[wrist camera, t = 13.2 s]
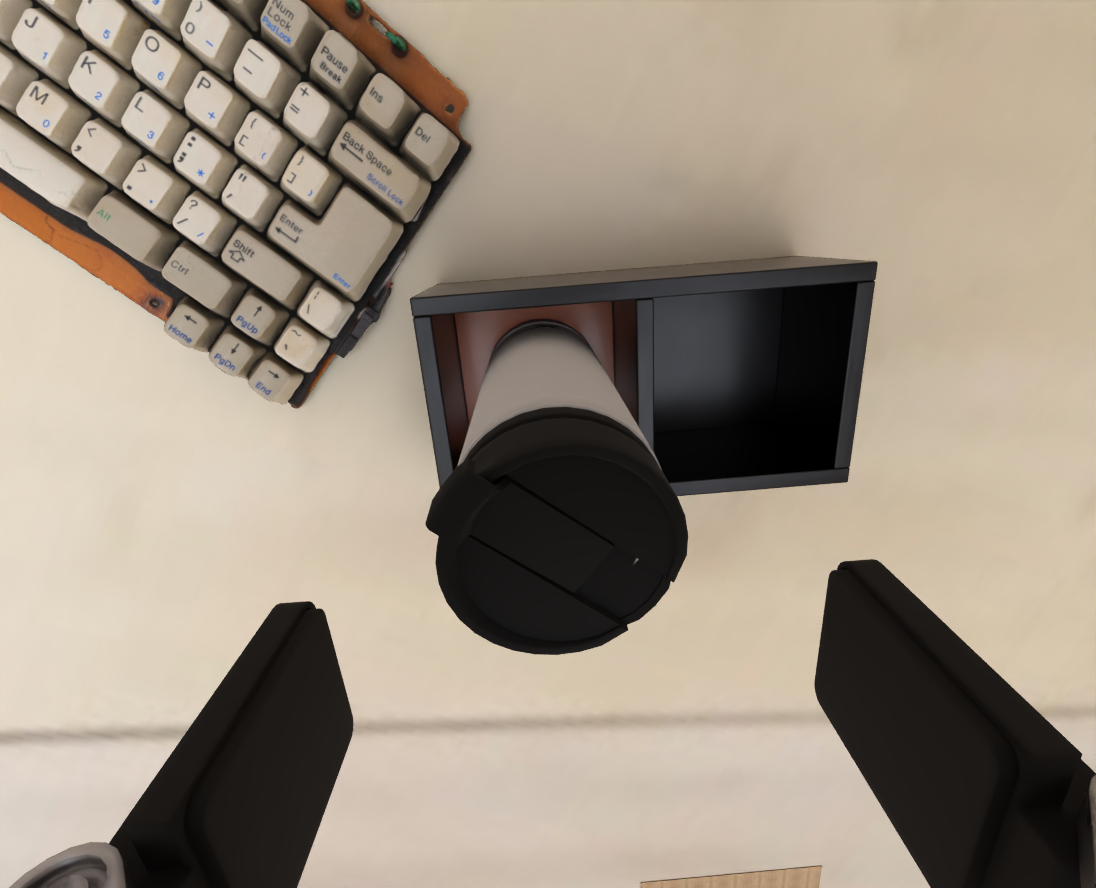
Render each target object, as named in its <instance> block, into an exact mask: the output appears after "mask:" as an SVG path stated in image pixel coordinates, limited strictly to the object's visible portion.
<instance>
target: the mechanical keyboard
mask: <svg viewBox="0 0 1096 888" xmlns="http://www.w3.org/2000/svg"><path fill="white" fill-rule="evenodd" d="M371 19H375V20H377V21H379V22H380V23H381V24H382V25H383V26H384V27H385V28H386V29H387V30H388V31H387V33H386V36H384V35H382V34H381V33H380V32H379V31H378V30H377V29H376V28H375V27H373V26H372V25H371V24H370V22H369V21H370V20H371ZM467 105H468V101H467V99H466V96H465V94H464V92H463V91H461V90H459V89H457V88H456V86H455V85H454V84H453V83H452V82H451V80H450V79H449V78H446V77H444V76H443V75H442V74H441V73H439V71H437V69H435V68H434V67H433V66H432V65H431V64H430V63H429V62H428V61H427V59H426V58H425V57H424V56H423V55H422V54H421V53H420V52H419V51H418V50H416V49H415V48H414V47H413V46H412V45H411V44H409V43H408V42H407V41H406V40H405V39H404V38H403V37H402V36H401V35H399V34H398V33H397V32H396V31H395V30H393V29H392V28H391V27H390V26H389V25H388V24H387V23H386V22H385V21H383V20H382V19H381V18H380V17H379V16H378V15H377V14H376V13H374V12H373V11H372V10H371V9H370V8H369V7H368V6H367V5H366V4H365V3H364V2H363V1H362V0H0V212H1V213H2V214H4V215H5V216H6V217H7V218H9V219H10V220H12V221H13V222H15V223H17V224H18V225H20V226H22V227H23V228H24V229H26V230H28V231H29V232H31V233H32V234H34V235H35V236H37V237H38V238H40V239H41V240H42V241H43V242H45V243H47V244H49V245H50V246H52V247H53V248H54V249H56V250H58V251H59V252H61V253H62V254H64V255H65V256H66V257H68V258H70V259H71V260H73V261H74V262H76V263H77V264H78V265H80V266H81V267H82V268H84V269H86V270H87V271H88V272H89V273H91V274H92V275H94V276H95V277H97V278H100V279H101V280H102V281H104V282H105V283H106V284H107V285H110V286H112V287H113V288H114V289H115V290H118V291H119V292H121V293H122V294H124V295H125V296H126V297H128V298H129V299H131V300H132V301H134V302H136V303H137V304H139V305H140V306H141V307H143V308H144V309H145V310H147V311H148V312H149V313H151V314H153V315H155V316H157V317H159V318H160V319H161V320H163V321H165V325H164V330H165V332H166V334H167V335H169V336H170V337H172V338H174V339H176V340H177V341H178V342H180V343H181V344H182V345H184V346H186V347H189V348H194V349H196V350H199V351H202V352H210V354H209V359H210V361H211V362H212V363H213V364H214V365H215V366H216V367H218V368H219V369H221V370H222V371H224V372H225V373H227V374H229V375H232V376H238V377H242V378H245V379H247V380H248V384H249V386H250V387H251V388H252V389H253V390H254V391H256V392H257V393H258V394H260V395H261V396H262V397H264V398H265V399H266V400H268V401H274V402H278V403H280V404H286V403H287V402H289V403H290V404H291V406H292V407H293V408H296V409H297V408H299V407H301V406H302V404H303V403H304V402H305V400H306V398H307V397H308V395H309V394H310V392H311V391H312V389H313V388H314V386H315V383H316V382H317V381H318V380H319V378H320V377H321V375H322V374H323V372H324V371H325V369H326V368H327V366H328V365H329V363H330V362H331V361H332V359H333V358H334V356H335V355H336V354H338V355H339V356H341V357H342V358H344V357H345V356H346V355H347V354H348V352H349V351H351V350H352V349H353V348H354V346H355V344H356V343H357V342H358V340H359V339H360V337H361V336H362V334H363V333H364V331H365V330H366V329H367V327H368V326H369V325H370V324H372V323H373V322H376V321H377V320H378V318H379V315H380V311H381V309H382V307H383V305H384V304H385V302H386V300H387V298H388V297H389V295H390V293H391V288H389V286H390V285H392V284H393V283H390V281H389V280H390V278H391V276H392V275H393V273H394V272H395V271H396V269H397V268H398V266H399V264H400V263H401V262H402V260H403V259H404V256H405V254H406V247H407V246H408V244H409V243H410V241H411V240H412V239H413V237H414V235H415V234H416V232H417V231H418V229H419V228H420V227H421V225H422V224H423V222H424V220H425V219H426V217H427V216H428V214H429V213H430V212H431V210H432V209H433V207H434V206H435V204H436V202H437V201H438V199H439V198H440V196H441V195H442V193H443V192H444V190H445V189H446V187H447V186H448V184H449V183H450V181H451V179H452V178H453V177H454V176H455V174H456V173H457V171H458V169H459V168H460V166H461V165H462V163H463V162H464V160H465V158H466V157H467V155H468V154H469V152H470V151H471V145H470V144H469V143H468V142H467V141H465V140H464V139H463V138H462V136H461V134H460V132H459V130H458V122H459V118H460V116H461V115H462V113H463V112H464V110H465V108H466V107H467ZM446 107H450V108H451V109H452V110H451V112H447V111H446ZM152 301H157V302H158V303H159V305H158V306H155V305H153V304H152Z"/></svg>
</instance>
